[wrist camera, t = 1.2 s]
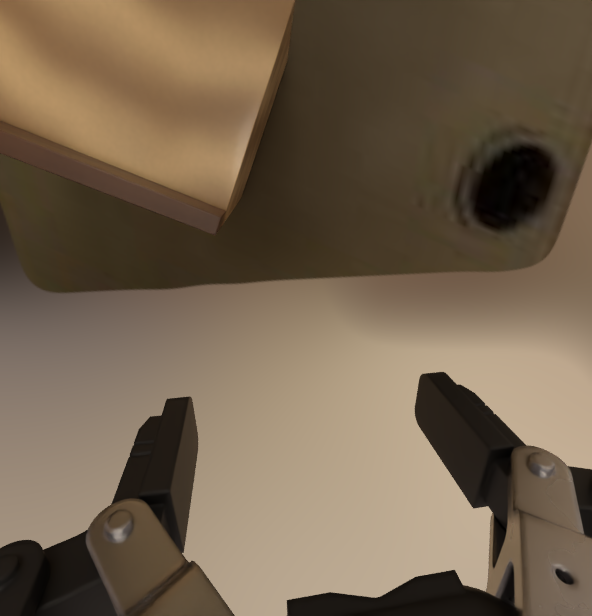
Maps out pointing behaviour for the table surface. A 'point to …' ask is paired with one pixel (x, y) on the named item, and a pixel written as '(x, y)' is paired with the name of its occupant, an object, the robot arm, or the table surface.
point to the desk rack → (143, 96)
